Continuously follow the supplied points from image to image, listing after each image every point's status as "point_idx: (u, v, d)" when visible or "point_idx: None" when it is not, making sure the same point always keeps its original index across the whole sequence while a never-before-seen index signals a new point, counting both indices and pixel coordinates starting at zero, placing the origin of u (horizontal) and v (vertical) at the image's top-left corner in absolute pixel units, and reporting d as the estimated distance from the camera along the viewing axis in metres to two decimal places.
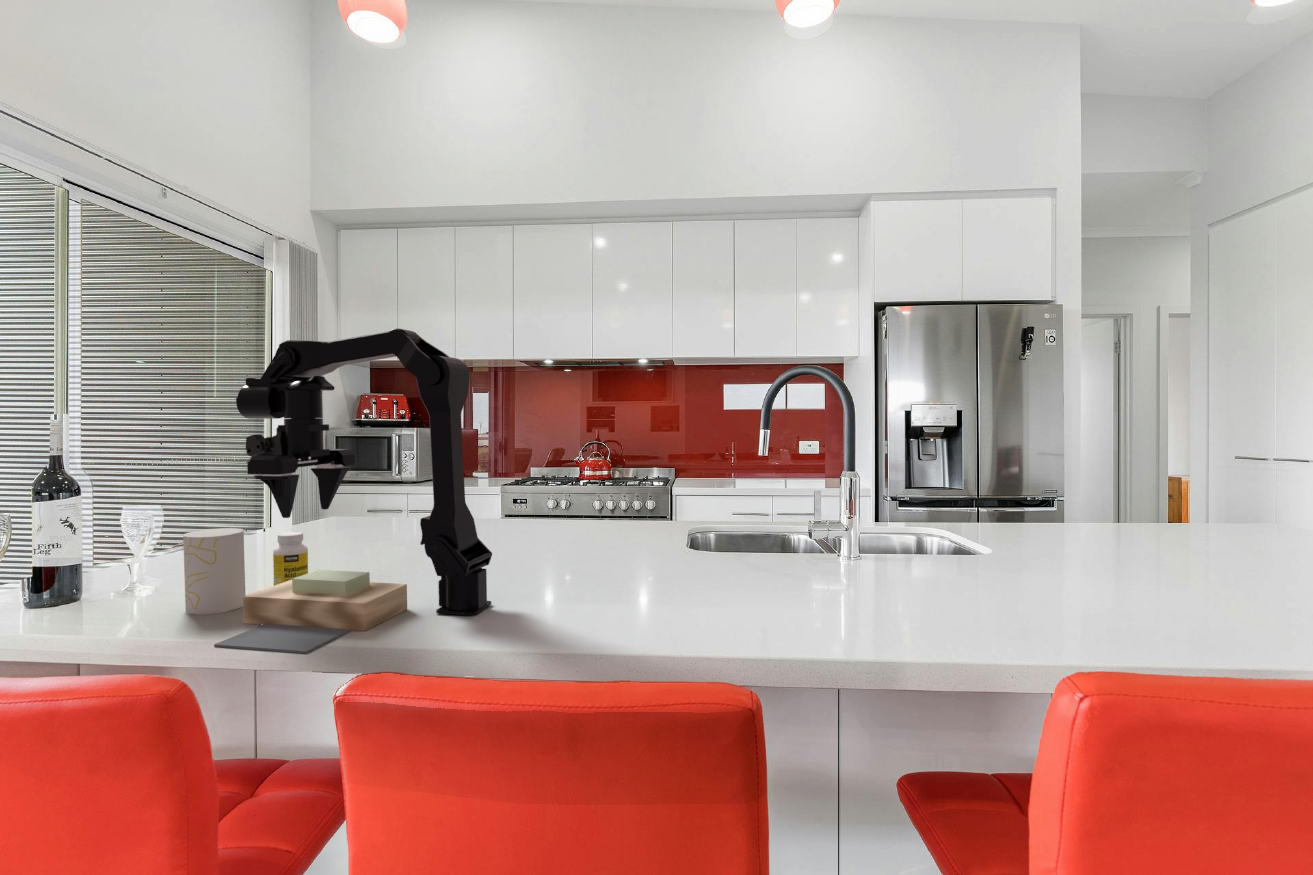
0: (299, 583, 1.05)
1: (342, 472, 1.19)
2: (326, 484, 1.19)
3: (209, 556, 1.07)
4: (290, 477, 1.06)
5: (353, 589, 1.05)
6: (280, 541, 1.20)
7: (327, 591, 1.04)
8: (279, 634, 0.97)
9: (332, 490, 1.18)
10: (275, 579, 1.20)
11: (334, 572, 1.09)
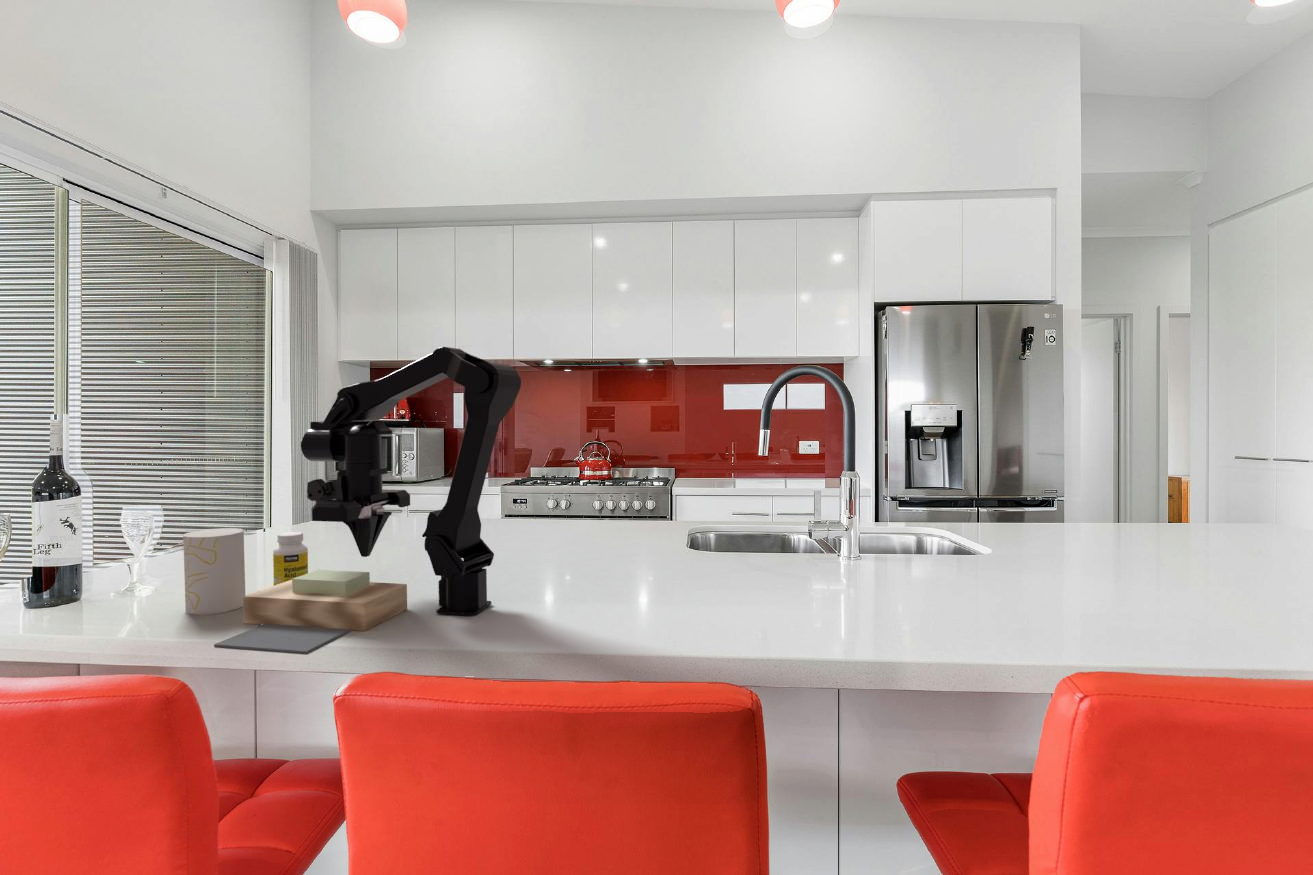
0: (299, 583, 1.05)
1: (384, 518, 1.15)
2: None
3: (209, 556, 1.07)
4: (370, 519, 1.12)
5: (353, 589, 1.05)
6: (280, 541, 1.20)
7: (327, 591, 1.04)
8: (279, 634, 0.97)
9: (374, 536, 1.15)
10: (275, 579, 1.20)
11: (334, 572, 1.09)
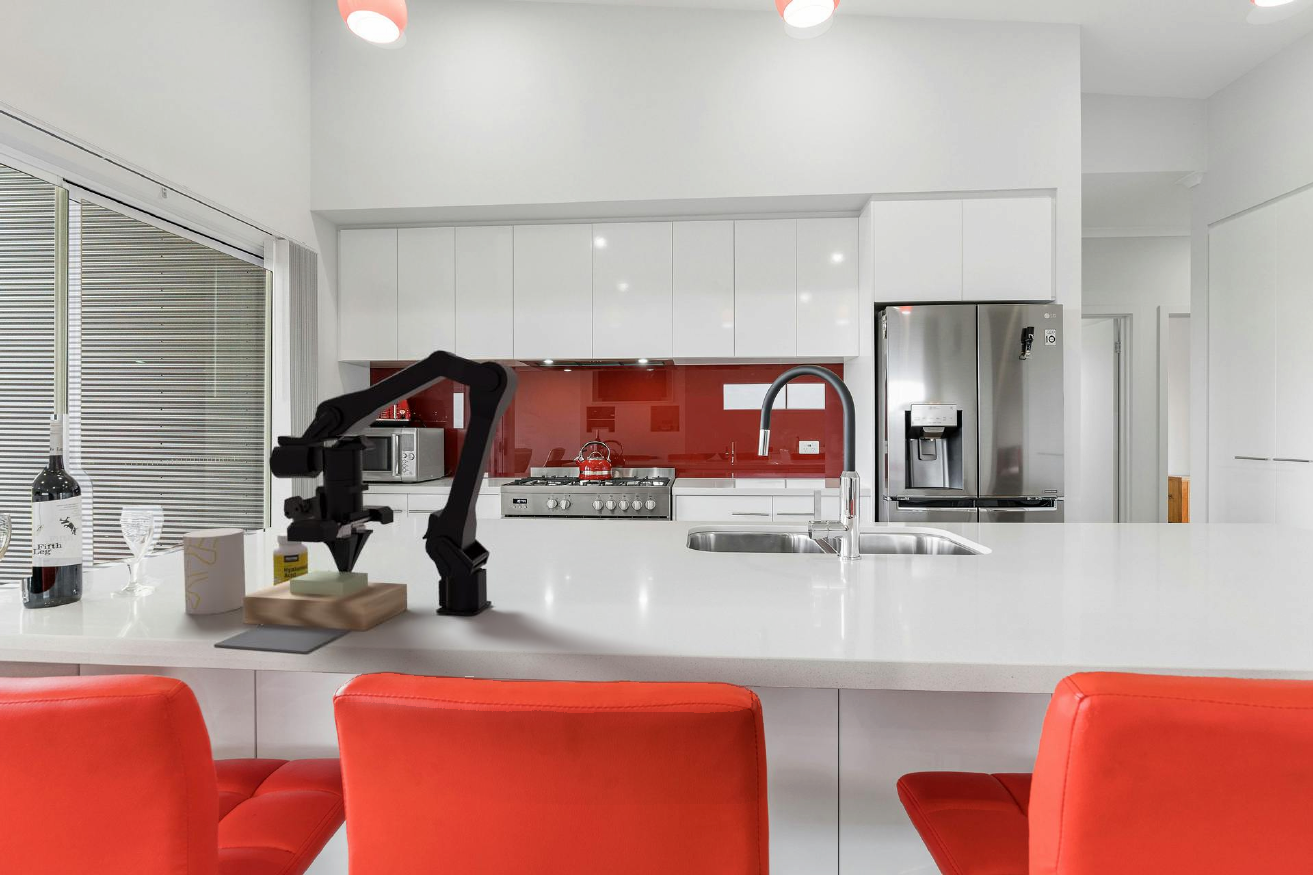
0: (297, 584, 1.04)
1: (364, 536, 1.11)
2: None
3: (209, 556, 1.07)
4: (350, 538, 1.07)
5: (351, 590, 1.05)
6: (280, 541, 1.20)
7: (325, 592, 1.03)
8: (279, 634, 0.97)
9: (354, 556, 1.10)
10: (275, 579, 1.20)
11: (332, 573, 1.08)
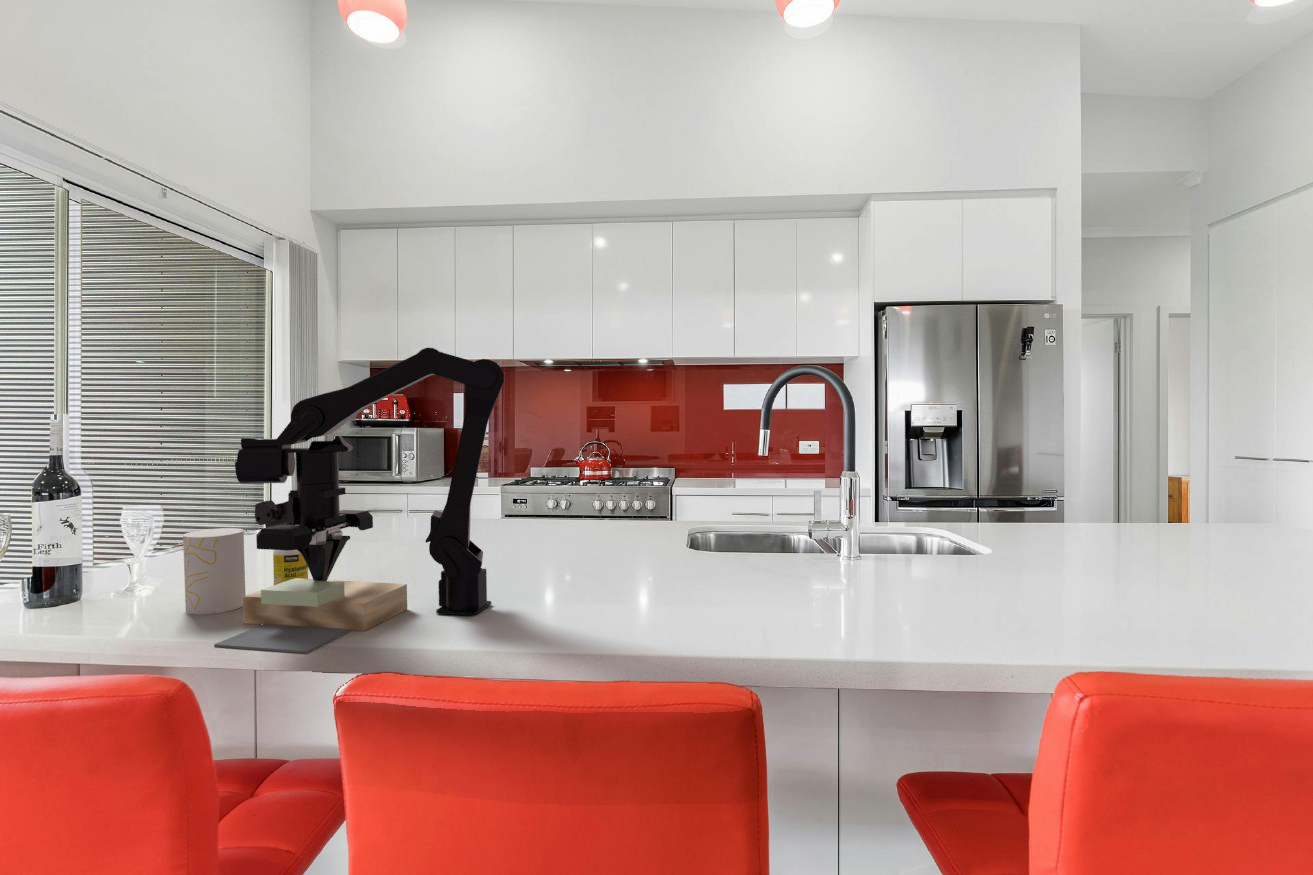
0: (268, 594, 0.98)
1: (340, 543, 1.05)
2: None
3: (209, 556, 1.07)
4: (324, 545, 1.01)
5: (326, 600, 0.99)
6: None
7: (298, 603, 0.98)
8: (279, 634, 0.97)
9: (329, 564, 1.04)
10: (275, 579, 1.20)
11: (307, 582, 1.03)
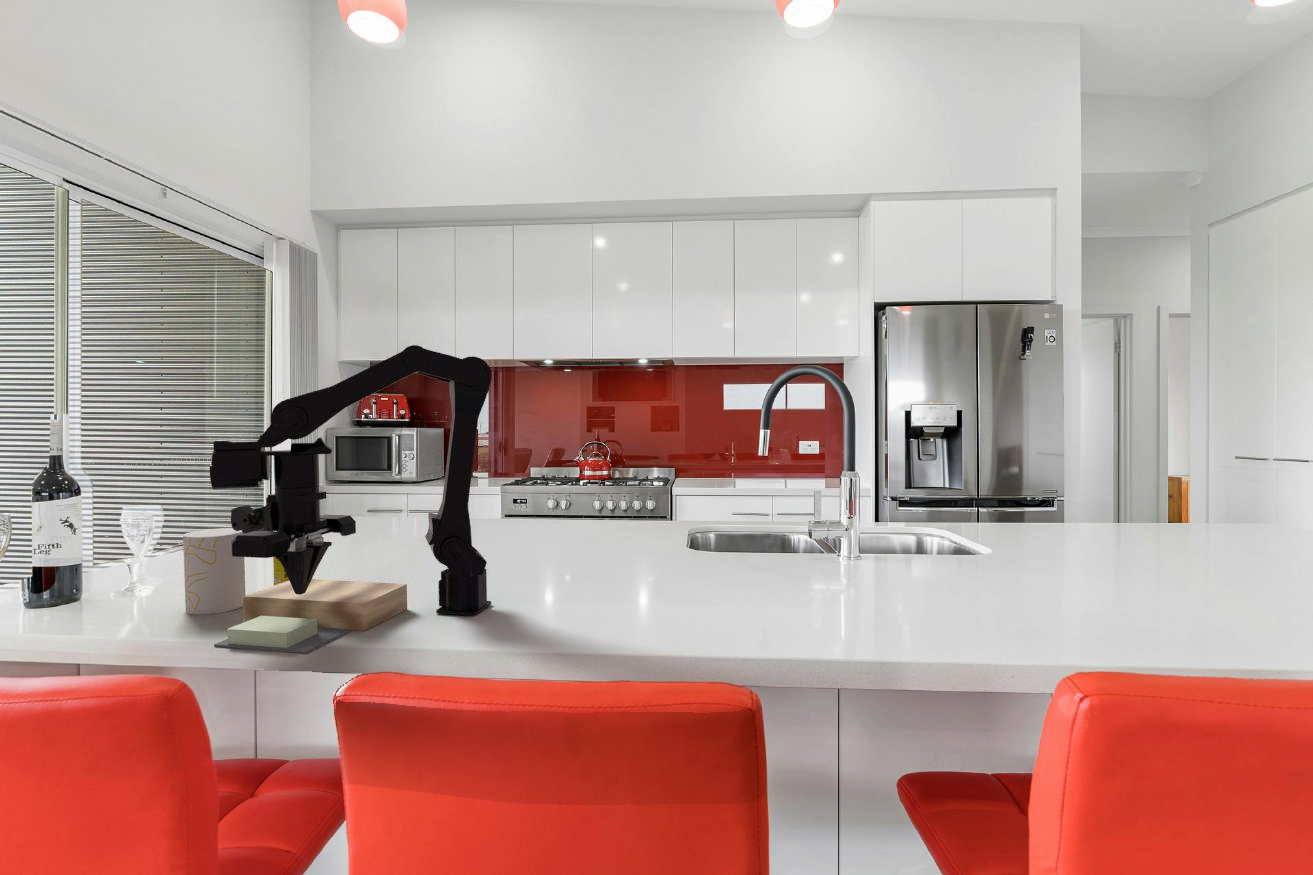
0: None
1: (321, 549, 1.00)
2: None
3: (209, 556, 1.07)
4: (304, 552, 0.97)
5: (307, 625, 0.95)
6: None
7: None
8: None
9: (310, 571, 1.00)
10: (275, 579, 1.20)
11: None
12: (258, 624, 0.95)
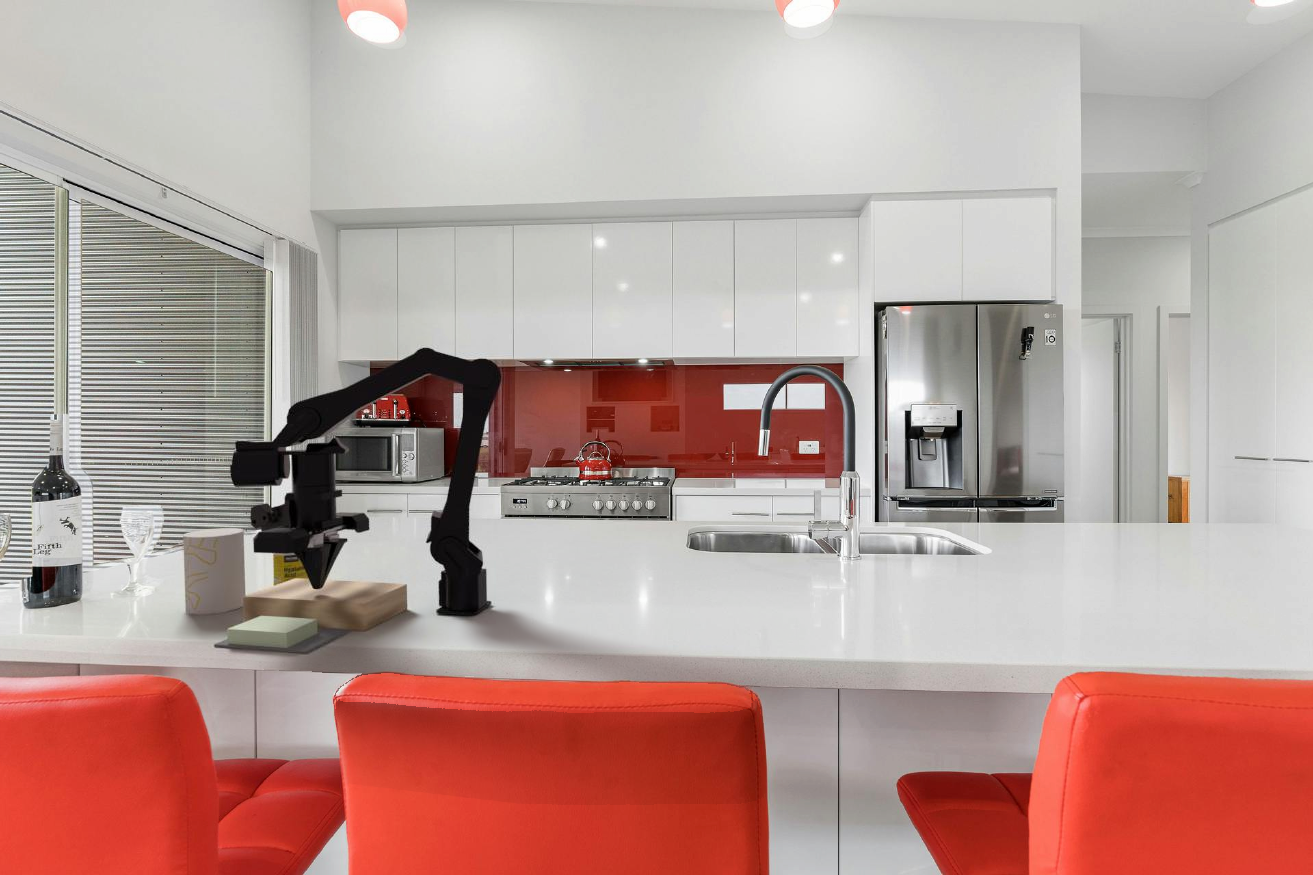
0: None
1: (338, 546, 1.04)
2: None
3: (209, 556, 1.07)
4: (322, 548, 1.00)
5: (307, 625, 0.95)
6: None
7: None
8: None
9: (327, 567, 1.03)
10: (275, 579, 1.20)
11: None
12: (258, 624, 0.95)
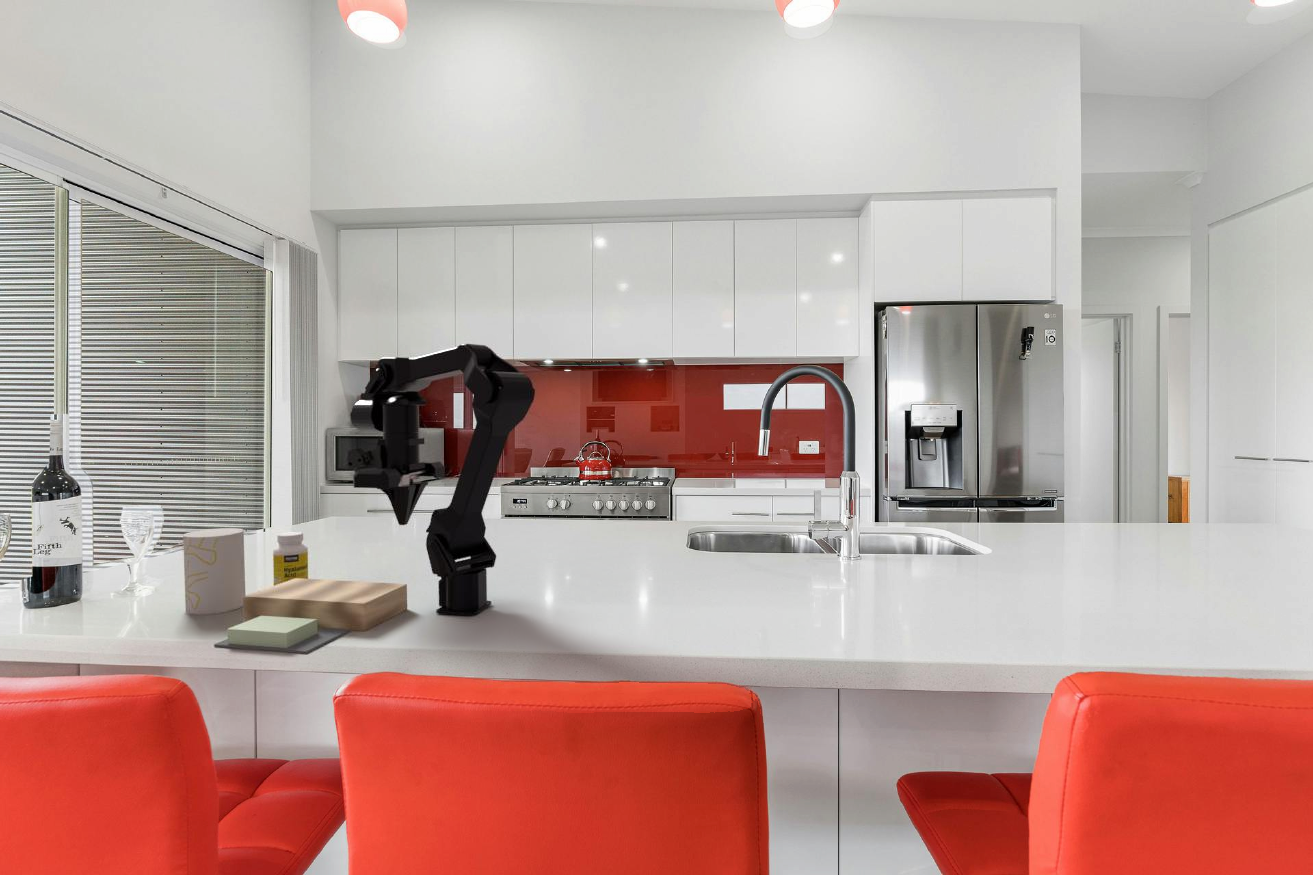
0: None
1: (421, 487, 1.18)
2: None
3: (209, 556, 1.07)
4: (409, 487, 1.14)
5: (307, 625, 0.95)
6: (280, 541, 1.20)
7: None
8: None
9: (411, 505, 1.17)
10: (275, 579, 1.20)
11: None
12: (258, 624, 0.95)
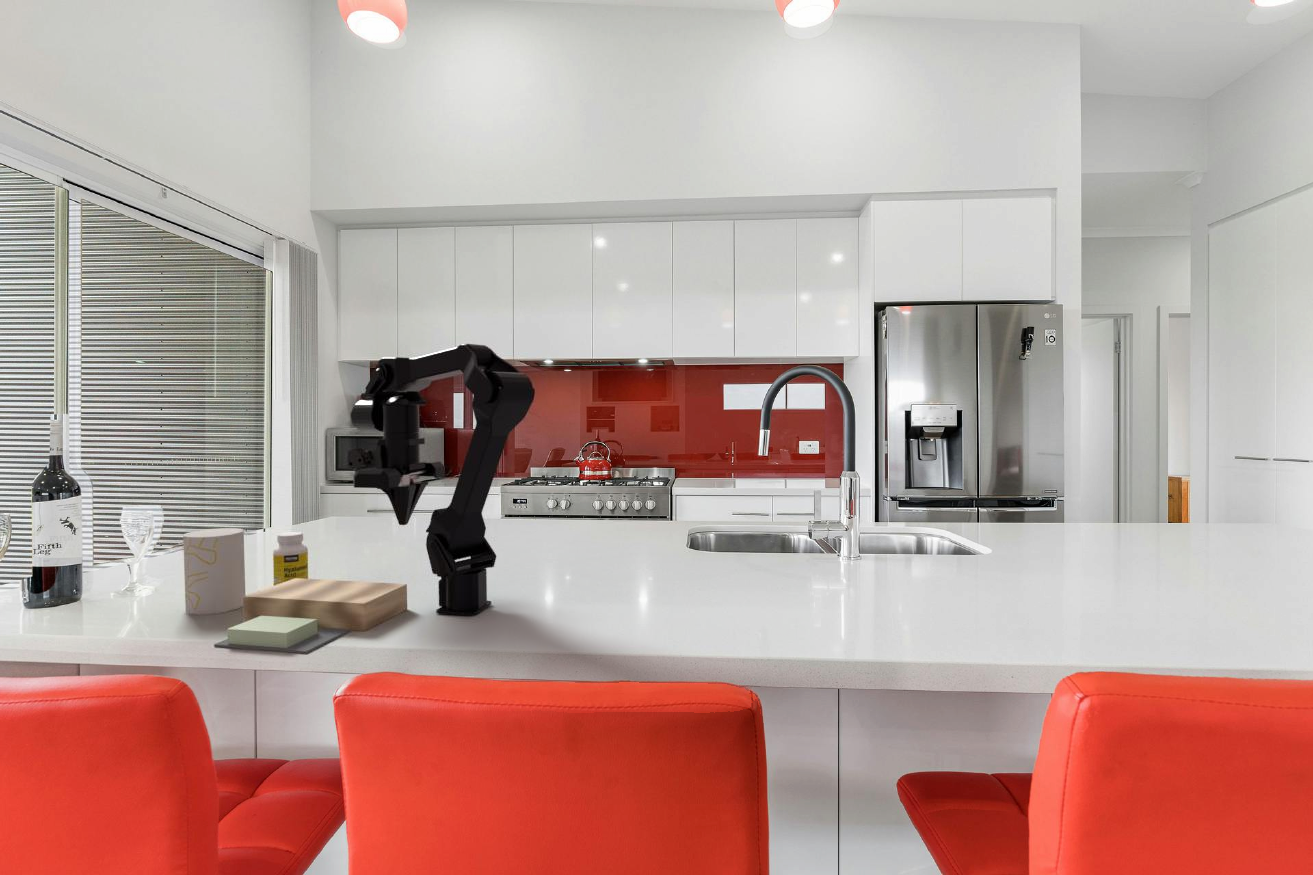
0: None
1: (421, 487, 1.18)
2: None
3: (209, 556, 1.07)
4: (409, 487, 1.14)
5: (307, 625, 0.95)
6: (280, 541, 1.20)
7: None
8: None
9: (412, 505, 1.17)
10: (275, 579, 1.20)
11: None
12: (258, 624, 0.95)
